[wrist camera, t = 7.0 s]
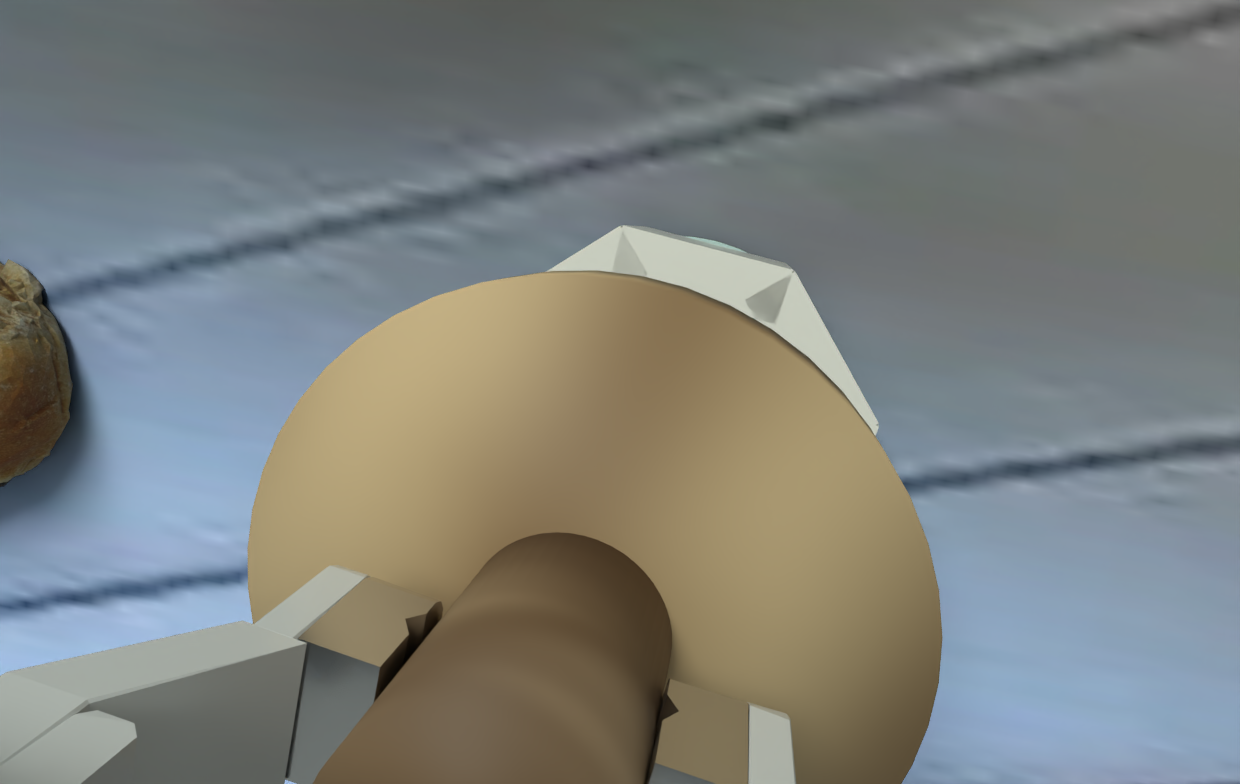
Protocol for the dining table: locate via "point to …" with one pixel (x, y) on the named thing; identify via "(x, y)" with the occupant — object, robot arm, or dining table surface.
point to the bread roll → (29, 374)
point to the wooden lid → (604, 535)
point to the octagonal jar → (726, 289)
